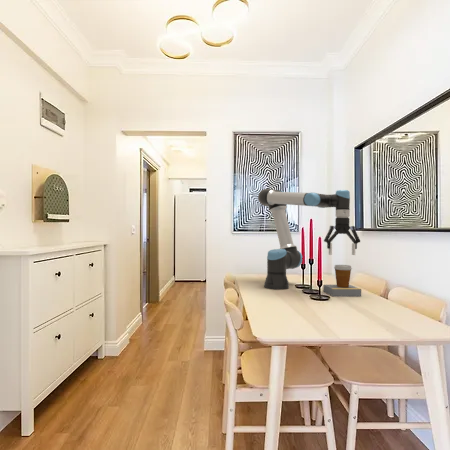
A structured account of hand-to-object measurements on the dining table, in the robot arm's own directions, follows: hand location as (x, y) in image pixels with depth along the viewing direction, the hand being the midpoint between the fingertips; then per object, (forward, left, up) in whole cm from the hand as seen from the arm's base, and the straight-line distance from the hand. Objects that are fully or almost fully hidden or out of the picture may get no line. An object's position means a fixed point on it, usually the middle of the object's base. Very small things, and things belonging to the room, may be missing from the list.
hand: (341, 254), depth 187 cm
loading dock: (0, 0, -22) cm, 22 cm away
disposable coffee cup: (+1, 0, -18) cm, 18 cm away
